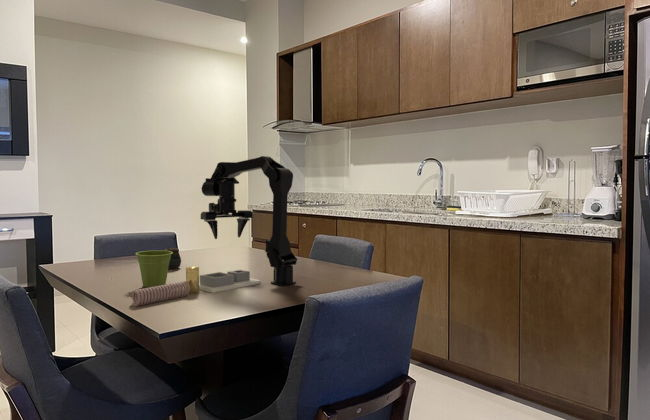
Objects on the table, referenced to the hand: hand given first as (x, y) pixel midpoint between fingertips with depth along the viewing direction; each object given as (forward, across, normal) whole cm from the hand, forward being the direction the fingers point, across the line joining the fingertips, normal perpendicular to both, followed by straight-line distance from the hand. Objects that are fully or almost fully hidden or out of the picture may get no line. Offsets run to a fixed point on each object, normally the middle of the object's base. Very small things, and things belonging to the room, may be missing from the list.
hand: (227, 238), depth 182 cm
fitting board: (+14, +7, +15) cm, 22 cm away
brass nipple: (+14, +21, +20) cm, 32 cm away
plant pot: (+14, +28, +3) cm, 31 cm away
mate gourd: (+14, +12, -28) cm, 33 cm away
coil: (+15, +32, +24) cm, 43 cm away
